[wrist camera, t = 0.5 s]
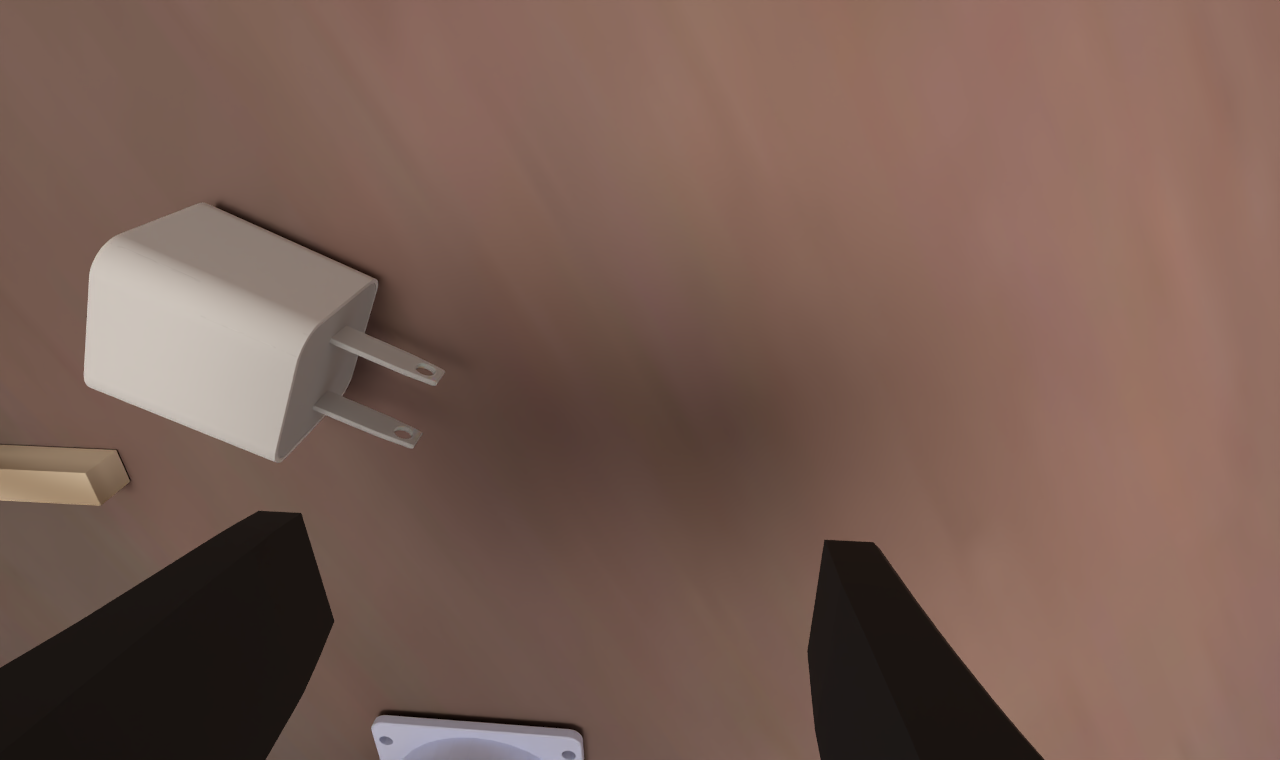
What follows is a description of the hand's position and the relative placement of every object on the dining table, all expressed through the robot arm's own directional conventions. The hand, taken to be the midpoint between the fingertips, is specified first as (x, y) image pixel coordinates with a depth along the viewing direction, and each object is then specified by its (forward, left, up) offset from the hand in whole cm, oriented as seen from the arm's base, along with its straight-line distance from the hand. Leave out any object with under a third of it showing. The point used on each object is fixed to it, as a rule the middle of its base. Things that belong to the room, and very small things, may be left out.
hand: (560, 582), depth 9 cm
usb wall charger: (0, +8, -10) cm, 13 cm away
